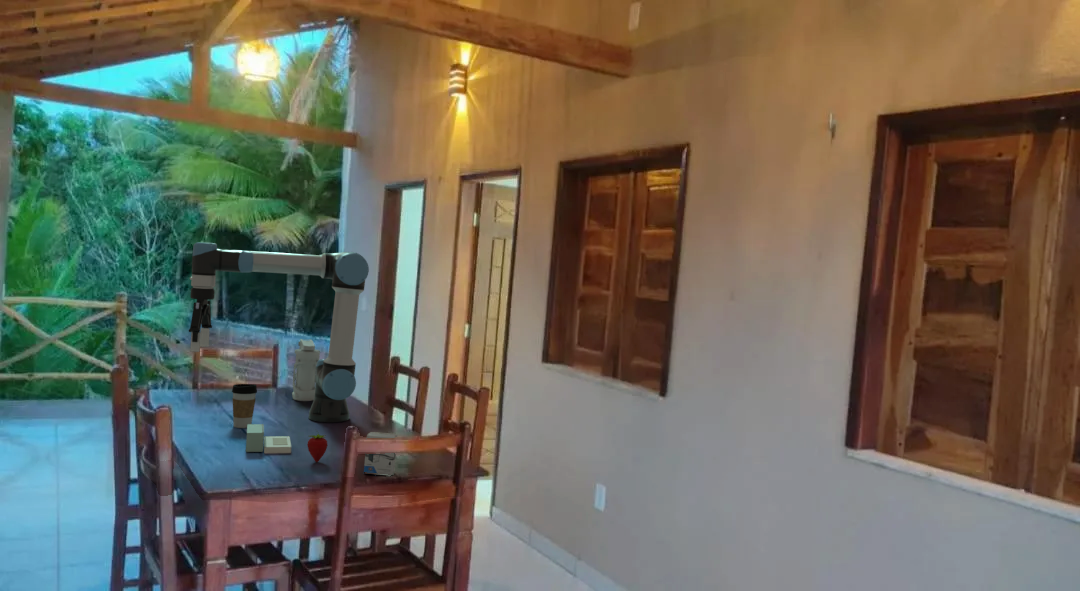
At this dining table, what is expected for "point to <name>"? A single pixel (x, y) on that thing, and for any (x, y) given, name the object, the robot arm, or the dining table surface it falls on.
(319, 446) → the strawberry
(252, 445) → the grey rectangular block
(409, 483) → the dining table surface
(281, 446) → the cream flat block
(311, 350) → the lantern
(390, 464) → the ink box
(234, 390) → the coffee cup
